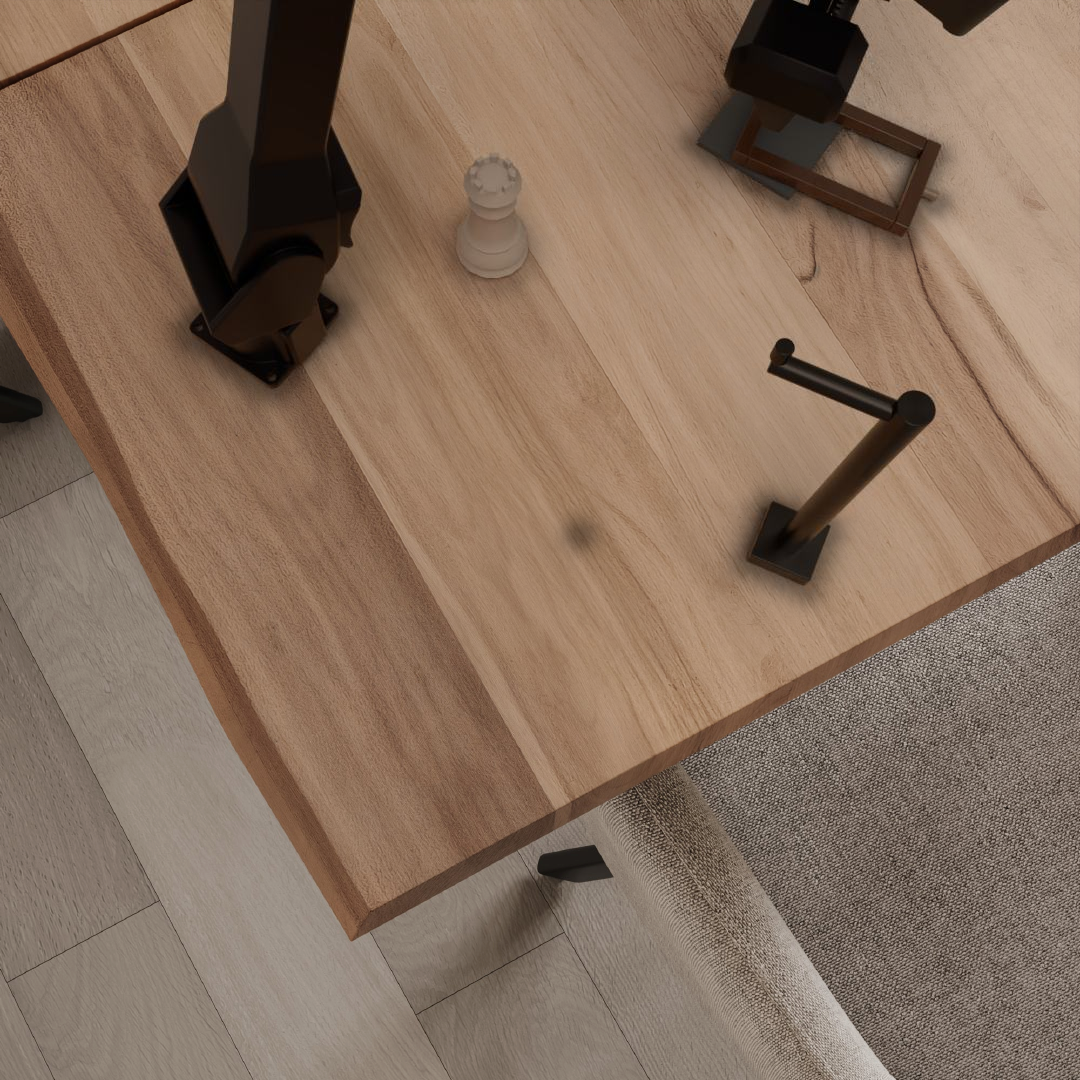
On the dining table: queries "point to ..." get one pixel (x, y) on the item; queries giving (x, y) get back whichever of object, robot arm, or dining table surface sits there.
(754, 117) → the rectangular frame
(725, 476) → the dining table surface
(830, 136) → the felt mat
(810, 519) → the black hanging stand
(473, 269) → the rook chess piece
